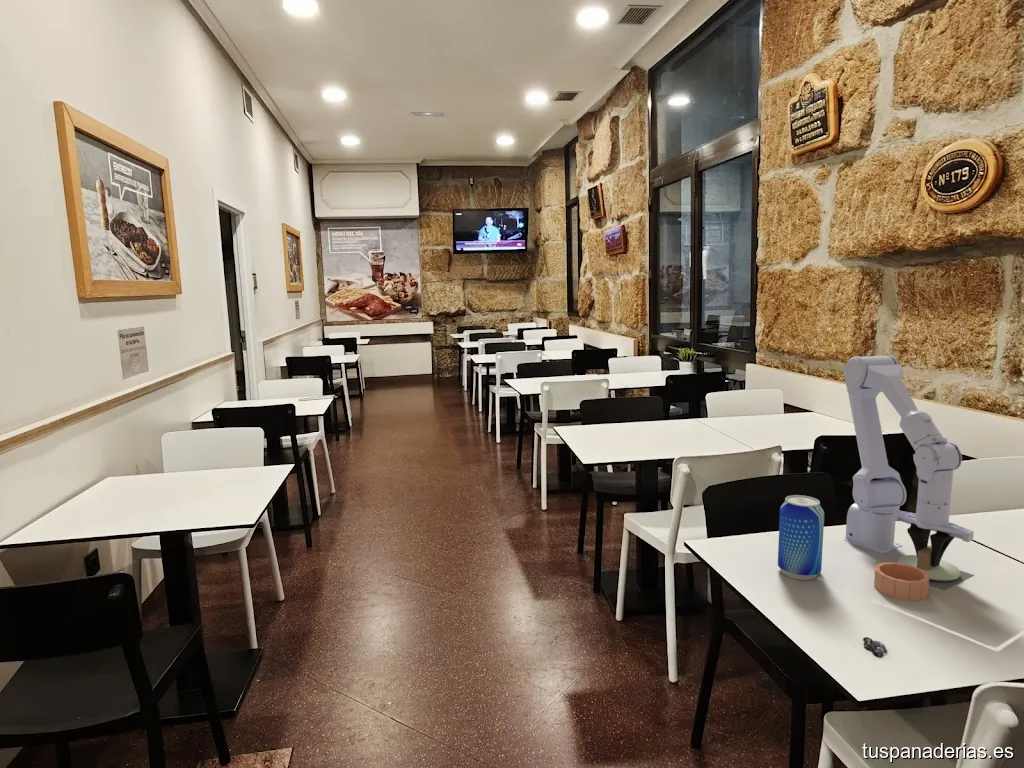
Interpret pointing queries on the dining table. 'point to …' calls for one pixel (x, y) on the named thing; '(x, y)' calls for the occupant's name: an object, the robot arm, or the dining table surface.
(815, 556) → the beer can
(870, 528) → the robot arm
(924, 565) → the lid
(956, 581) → the mat
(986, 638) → the dining table surface
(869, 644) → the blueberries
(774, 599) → the dining table surface
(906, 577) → the bowl
